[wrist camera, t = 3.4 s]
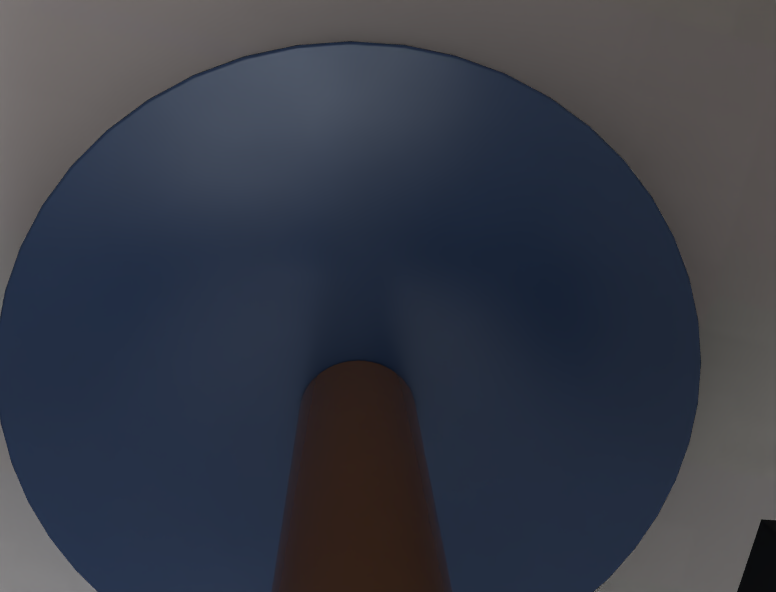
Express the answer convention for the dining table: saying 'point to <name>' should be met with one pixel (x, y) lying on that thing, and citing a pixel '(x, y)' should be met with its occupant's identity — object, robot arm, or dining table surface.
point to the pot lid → (348, 337)
